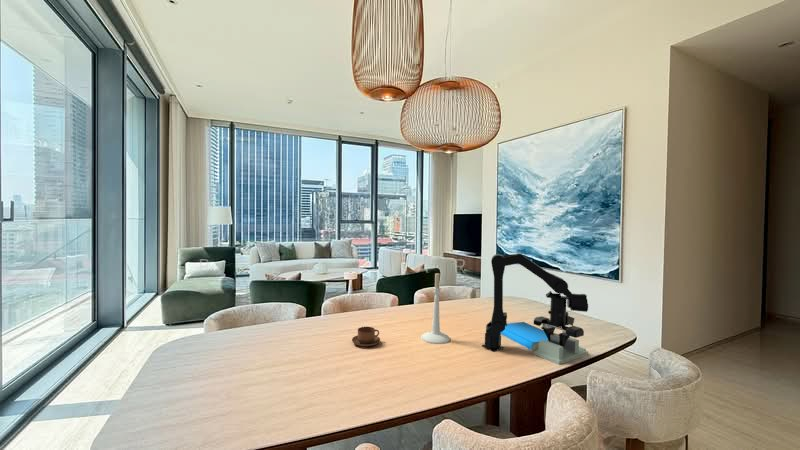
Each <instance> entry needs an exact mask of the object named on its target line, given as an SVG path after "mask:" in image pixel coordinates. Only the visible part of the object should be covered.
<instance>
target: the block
mask: <svg viewBox="0 0 800 450" xmlns="http://www.w3.org/2000/svg"><path fill="white" fill-rule="evenodd" d="M550 342H551V343H554V344H557V345H560V339H559V333H556V332H554V333H553V334H550Z"/></svg>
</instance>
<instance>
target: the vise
mask: <svg viewBox="0 0 800 450" xmlns="http://www.w3.org/2000/svg"><path fill="white" fill-rule="evenodd" d="M533 354H534V355H536V356H537V357H541V358H542V359H545V360H547V361H549V362H552V363H555V364H557V365H561V364H563V363H566V362H570V361H573V360H577V359H579V358H582V357H584V356H587V355H588V354H589V351H588V350H587V349H586V347H582V346H579V352H578V353H572V352H570V351H567V350H564V347H562V346H560V345H557V344H554V343H551V342H549V341H546V340H543V339H542V340H539V350H534V351H533Z"/></svg>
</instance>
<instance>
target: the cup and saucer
mask: <svg viewBox="0 0 800 450" xmlns="http://www.w3.org/2000/svg"><path fill="white" fill-rule="evenodd" d="M376 332H377V333H376ZM375 333H376V334H375ZM379 335H380V331H379V329H375V328H374V327H372V326H361V327H358V328H357V335H355V336H353V337H352V338H351V339H352V340H351V341H352V343H353V344H354V345H356V346H358V347H359V346H360V347H373V346H375V345H378V343H379V342H380V340H381V338H380V336H379Z"/></svg>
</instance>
